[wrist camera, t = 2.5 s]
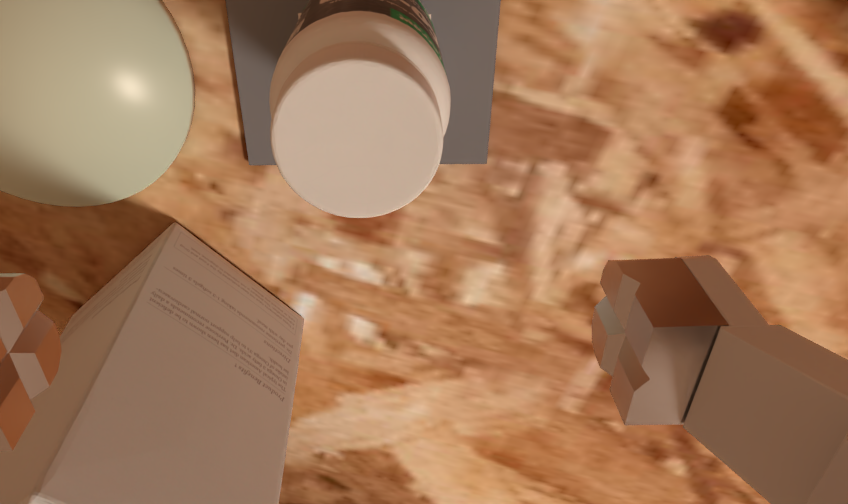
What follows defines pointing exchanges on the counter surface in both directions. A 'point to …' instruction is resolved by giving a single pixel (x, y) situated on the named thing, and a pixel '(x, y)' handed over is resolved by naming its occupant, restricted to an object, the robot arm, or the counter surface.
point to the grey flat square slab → (458, 41)
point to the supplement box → (164, 390)
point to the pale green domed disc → (90, 98)
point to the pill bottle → (360, 105)
